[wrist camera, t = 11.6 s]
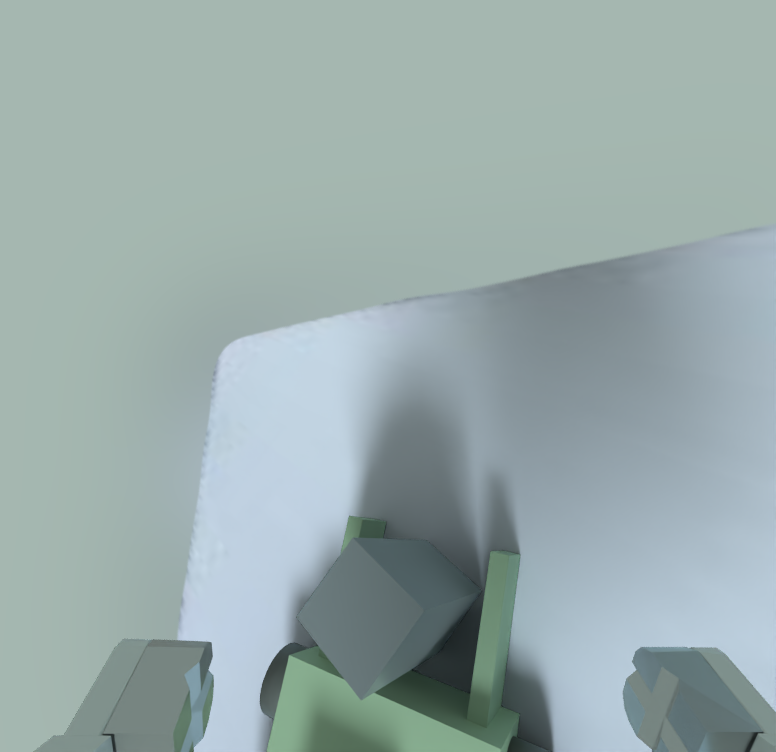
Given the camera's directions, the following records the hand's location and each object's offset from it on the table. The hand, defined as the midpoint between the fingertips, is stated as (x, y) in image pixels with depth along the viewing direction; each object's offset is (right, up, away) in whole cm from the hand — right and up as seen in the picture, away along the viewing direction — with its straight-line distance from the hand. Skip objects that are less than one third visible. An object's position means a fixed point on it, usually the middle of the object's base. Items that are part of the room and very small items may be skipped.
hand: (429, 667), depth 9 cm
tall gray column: (+2, -8, +20) cm, 22 cm away
